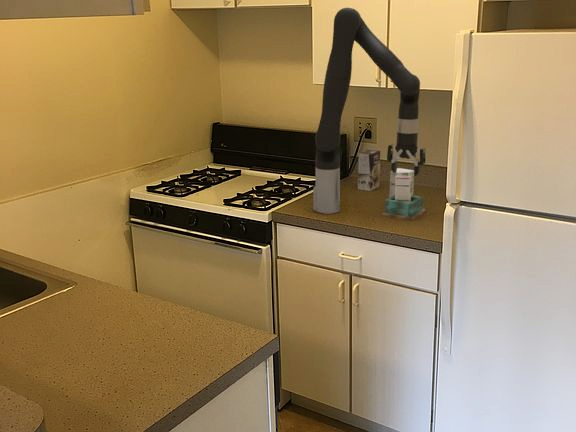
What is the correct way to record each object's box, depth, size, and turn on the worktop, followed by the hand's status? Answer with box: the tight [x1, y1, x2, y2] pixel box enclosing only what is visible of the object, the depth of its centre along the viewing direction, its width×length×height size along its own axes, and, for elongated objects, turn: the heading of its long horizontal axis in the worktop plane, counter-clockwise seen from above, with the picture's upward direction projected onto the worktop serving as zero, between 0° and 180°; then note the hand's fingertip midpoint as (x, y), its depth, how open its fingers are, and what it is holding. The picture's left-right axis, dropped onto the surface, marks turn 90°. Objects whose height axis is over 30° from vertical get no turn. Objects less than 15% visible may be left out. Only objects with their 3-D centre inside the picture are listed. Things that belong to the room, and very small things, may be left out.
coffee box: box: [357, 149, 381, 192], centre depth 276 cm, size 9×6×16 cm
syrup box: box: [395, 172, 412, 203], centre depth 240 cm, size 6×6×14 cm
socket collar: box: [380, 195, 427, 222], centre depth 242 cm, size 13×13×6 cm
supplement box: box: [388, 167, 415, 198], centre depth 258 cm, size 7×7×13 cm
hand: (405, 173), depth 238 cm, fingers open, 8 cm apart
